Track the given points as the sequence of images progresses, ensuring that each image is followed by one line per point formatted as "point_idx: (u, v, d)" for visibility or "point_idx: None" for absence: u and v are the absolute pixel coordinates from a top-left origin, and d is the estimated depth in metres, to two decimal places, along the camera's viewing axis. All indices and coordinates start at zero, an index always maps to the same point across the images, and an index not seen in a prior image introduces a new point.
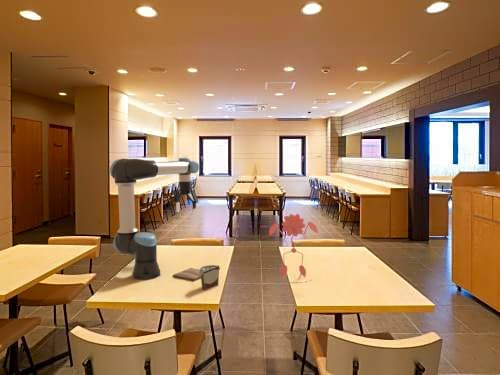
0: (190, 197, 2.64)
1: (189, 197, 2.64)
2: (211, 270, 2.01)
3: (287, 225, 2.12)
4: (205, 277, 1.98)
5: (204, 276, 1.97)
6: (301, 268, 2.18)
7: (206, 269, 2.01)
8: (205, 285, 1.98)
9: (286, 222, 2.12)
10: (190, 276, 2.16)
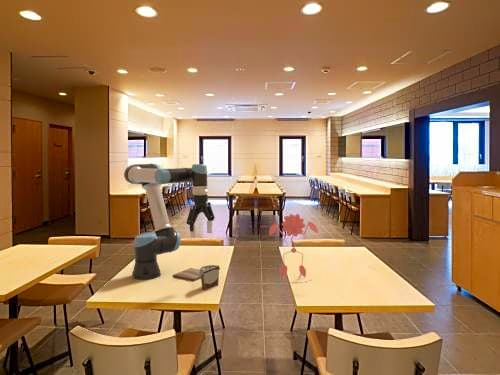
0: None
1: None
2: (211, 270, 2.01)
3: (287, 225, 2.12)
4: (205, 277, 1.98)
5: (204, 276, 1.97)
6: (301, 268, 2.18)
7: (206, 269, 2.01)
8: (205, 285, 1.98)
9: (286, 222, 2.12)
10: (190, 276, 2.16)
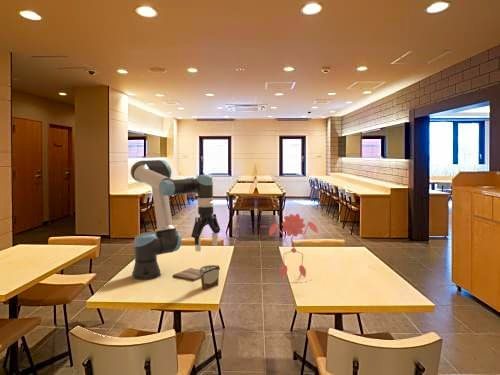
0: None
1: None
2: (211, 270, 2.01)
3: (287, 225, 2.12)
4: (205, 277, 1.98)
5: (204, 276, 1.97)
6: (301, 268, 2.18)
7: (206, 269, 2.01)
8: (205, 285, 1.98)
9: (286, 222, 2.12)
10: (190, 276, 2.16)
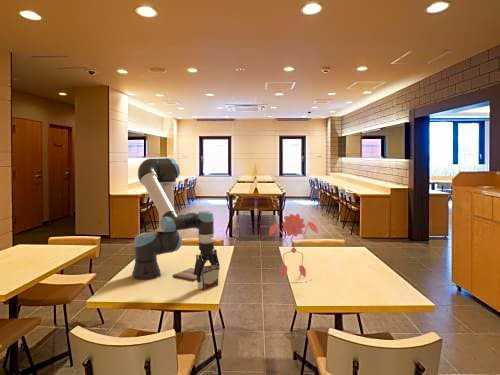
0: None
1: None
2: (211, 270, 2.01)
3: (287, 225, 2.12)
4: (205, 277, 1.97)
5: (204, 276, 1.97)
6: (301, 268, 2.18)
7: (206, 269, 2.01)
8: (205, 285, 1.98)
9: (286, 222, 2.12)
10: (190, 276, 2.16)
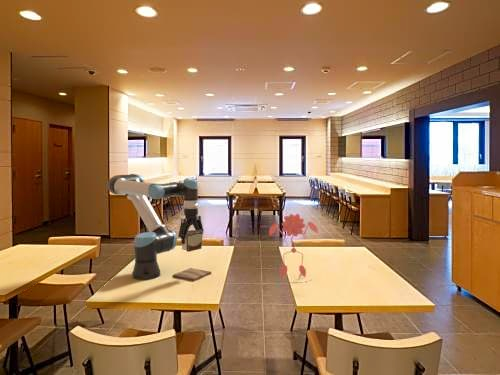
0: None
1: None
2: (195, 234, 2.18)
3: (287, 225, 2.12)
4: (189, 240, 2.15)
5: (188, 239, 2.15)
6: (301, 268, 2.18)
7: (190, 233, 2.19)
8: (189, 247, 2.15)
9: (286, 222, 2.12)
10: (190, 276, 2.16)
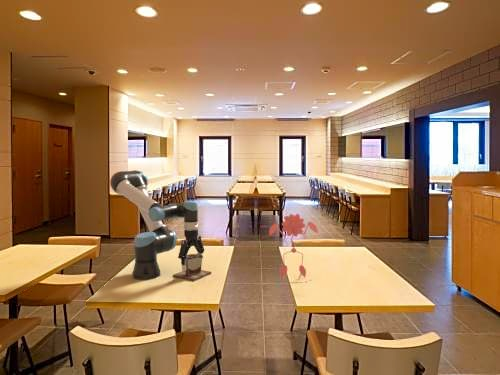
0: None
1: None
2: (195, 257, 2.19)
3: (287, 225, 2.12)
4: (189, 263, 2.16)
5: (188, 262, 2.16)
6: (301, 268, 2.18)
7: (190, 256, 2.20)
8: (188, 270, 2.16)
9: (286, 222, 2.12)
10: (190, 276, 2.16)
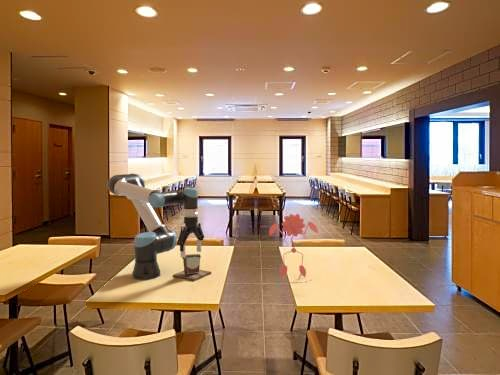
0: None
1: None
2: (193, 256, 2.20)
3: (287, 225, 2.12)
4: (187, 261, 2.16)
5: (187, 260, 2.16)
6: (301, 268, 2.18)
7: None
8: (187, 269, 2.16)
9: (286, 222, 2.12)
10: (190, 276, 2.16)
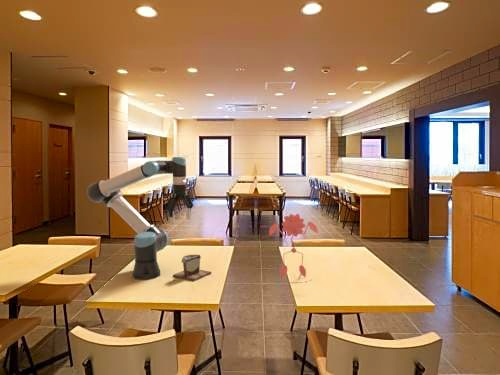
0: None
1: (172, 203, 2.26)
2: (193, 259, 2.18)
3: (287, 225, 2.12)
4: (187, 265, 2.15)
5: (186, 264, 2.14)
6: (301, 268, 2.18)
7: (188, 258, 2.18)
8: (187, 272, 2.15)
9: (286, 222, 2.12)
10: (190, 276, 2.16)
